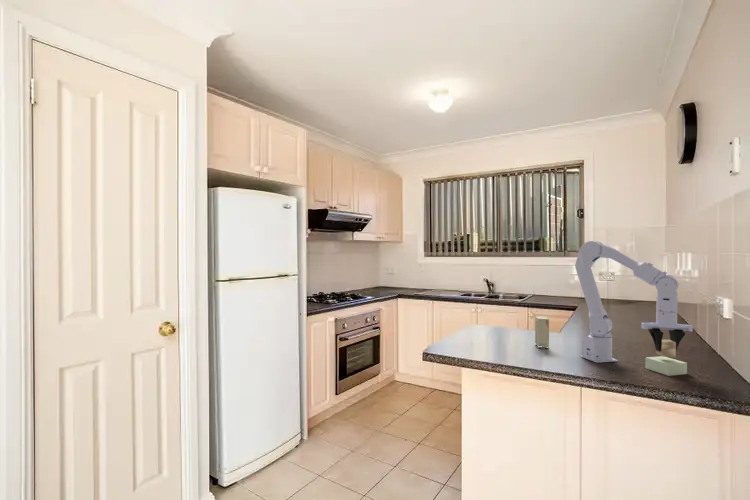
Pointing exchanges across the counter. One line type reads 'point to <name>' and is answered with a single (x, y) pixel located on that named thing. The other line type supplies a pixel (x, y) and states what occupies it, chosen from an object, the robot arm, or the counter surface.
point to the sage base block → (666, 365)
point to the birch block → (667, 349)
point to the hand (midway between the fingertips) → (665, 351)
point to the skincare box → (542, 331)
